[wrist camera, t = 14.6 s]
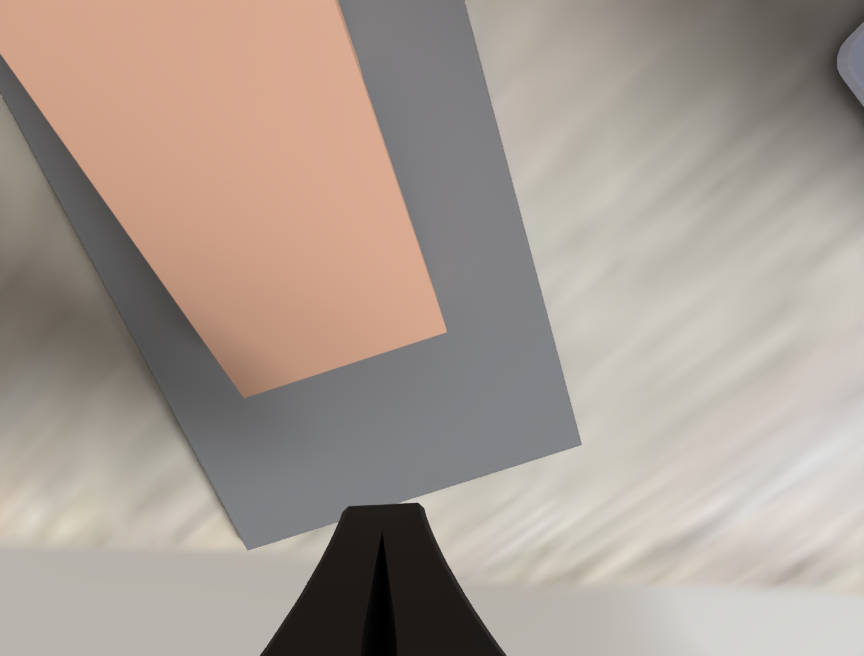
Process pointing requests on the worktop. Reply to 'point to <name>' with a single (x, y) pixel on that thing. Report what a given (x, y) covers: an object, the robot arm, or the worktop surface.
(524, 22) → the worktop surface
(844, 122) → the worktop surface
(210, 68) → the domino
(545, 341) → the mat
